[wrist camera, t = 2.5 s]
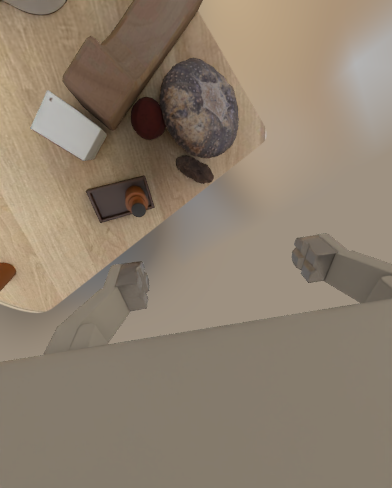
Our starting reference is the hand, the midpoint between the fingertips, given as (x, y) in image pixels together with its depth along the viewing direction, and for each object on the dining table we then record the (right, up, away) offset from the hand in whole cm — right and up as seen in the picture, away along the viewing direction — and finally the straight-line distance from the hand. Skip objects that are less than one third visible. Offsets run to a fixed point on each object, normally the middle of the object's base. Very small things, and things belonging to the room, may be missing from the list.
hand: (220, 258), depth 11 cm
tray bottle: (-17, +13, +39) cm, 45 cm away
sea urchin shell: (-3, +28, +35) cm, 45 cm away
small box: (-26, +24, +32) cm, 47 cm away
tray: (-20, +12, +39) cm, 45 cm away
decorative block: (-20, +24, +25) cm, 40 cm away
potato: (-12, +29, +34) cm, 46 cm away
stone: (0, +22, +40) cm, 46 cm away
